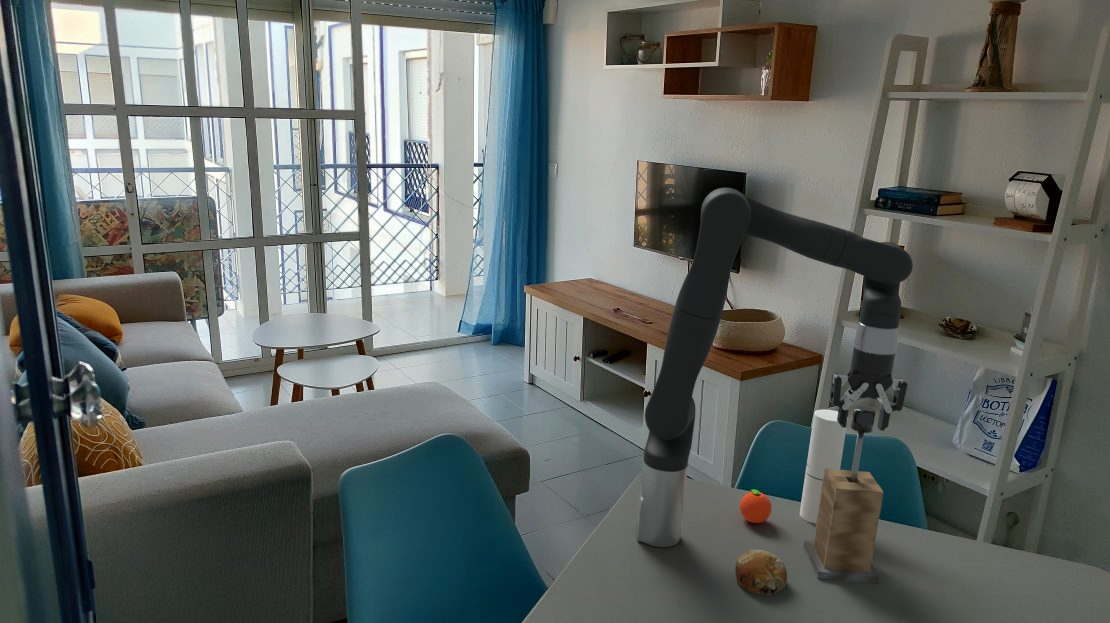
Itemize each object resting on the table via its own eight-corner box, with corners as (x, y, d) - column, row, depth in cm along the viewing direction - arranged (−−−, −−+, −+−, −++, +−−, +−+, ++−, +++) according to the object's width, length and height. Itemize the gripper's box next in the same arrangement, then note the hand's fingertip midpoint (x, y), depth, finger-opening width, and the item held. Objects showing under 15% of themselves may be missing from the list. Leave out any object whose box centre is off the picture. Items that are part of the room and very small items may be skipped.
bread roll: (784, 595, 159) (790, 554, 161) (784, 601, 150) (790, 558, 151) (734, 583, 162) (740, 543, 164) (730, 589, 153) (737, 546, 154)
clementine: (732, 511, 184) (735, 483, 183) (761, 511, 185) (765, 483, 183) (744, 529, 177) (747, 499, 175) (774, 529, 178) (778, 499, 176)
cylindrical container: (827, 510, 187) (843, 410, 181) (835, 526, 180) (851, 422, 174) (796, 507, 188) (811, 408, 182) (802, 522, 181) (818, 419, 175)
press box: (817, 578, 159) (830, 491, 155) (803, 546, 171) (815, 464, 166) (878, 583, 159) (894, 496, 154) (860, 551, 170) (874, 469, 166)
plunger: (833, 527, 159) (851, 414, 153) (824, 510, 166) (841, 402, 160) (869, 530, 159) (888, 417, 153) (859, 513, 165) (877, 404, 160)
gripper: (842, 349, 150) (829, 432, 154) (920, 355, 149) (905, 438, 153) (831, 338, 157) (819, 417, 161) (906, 344, 156) (892, 423, 161)
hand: (861, 427), depth 157 cm, fingers open, 7 cm apart
